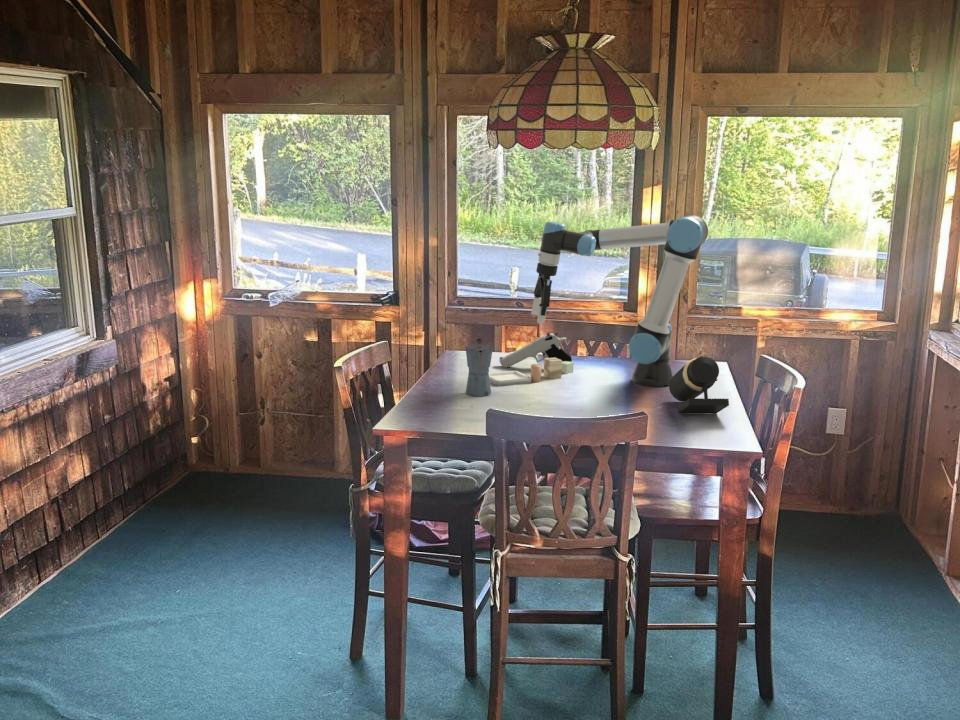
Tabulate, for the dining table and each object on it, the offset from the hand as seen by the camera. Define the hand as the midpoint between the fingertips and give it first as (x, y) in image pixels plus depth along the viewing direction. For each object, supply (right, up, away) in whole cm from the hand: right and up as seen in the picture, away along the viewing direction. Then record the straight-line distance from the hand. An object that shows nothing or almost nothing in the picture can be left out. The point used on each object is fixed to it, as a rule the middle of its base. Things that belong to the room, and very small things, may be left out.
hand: (537, 318), depth 338 cm
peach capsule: (-1, -23, -1) cm, 23 cm away
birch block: (+6, -22, +6) cm, 24 cm away
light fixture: (+51, -33, -35) cm, 70 cm away
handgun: (0, -19, +19) cm, 27 cm away
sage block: (+12, -20, +14) cm, 27 cm away
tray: (-12, -23, -2) cm, 26 cm away
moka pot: (-23, -27, -20) cm, 41 cm away
